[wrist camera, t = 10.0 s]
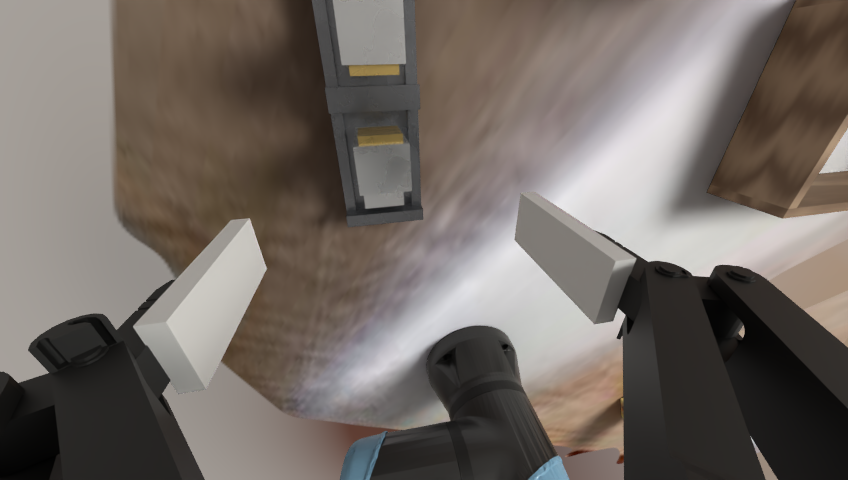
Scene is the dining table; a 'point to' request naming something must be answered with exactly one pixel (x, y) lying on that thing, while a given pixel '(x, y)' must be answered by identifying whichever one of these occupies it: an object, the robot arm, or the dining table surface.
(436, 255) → the dining table surface
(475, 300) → the dining table surface
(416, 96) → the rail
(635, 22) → the dining table surface
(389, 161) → the gold-topped white block
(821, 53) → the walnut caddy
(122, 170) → the dining table surface
